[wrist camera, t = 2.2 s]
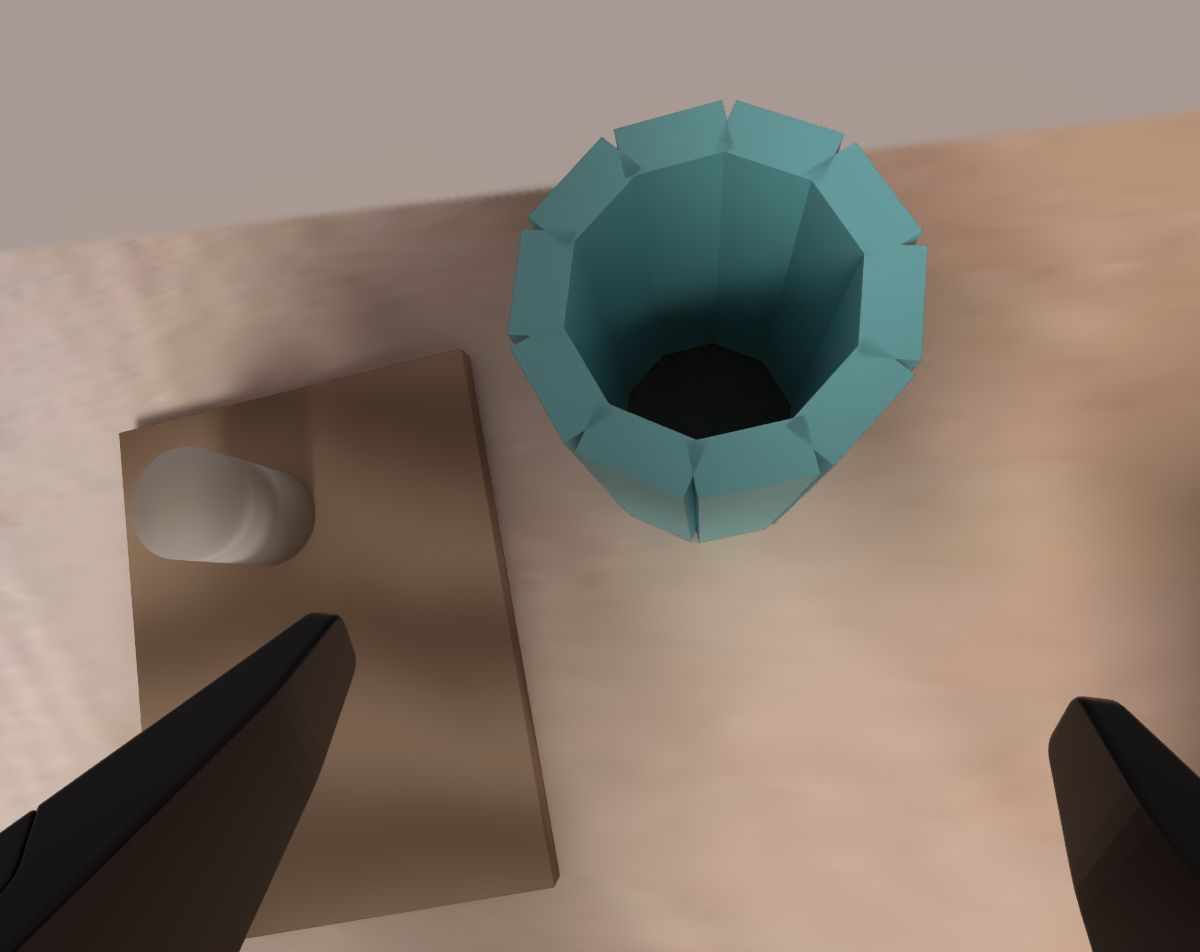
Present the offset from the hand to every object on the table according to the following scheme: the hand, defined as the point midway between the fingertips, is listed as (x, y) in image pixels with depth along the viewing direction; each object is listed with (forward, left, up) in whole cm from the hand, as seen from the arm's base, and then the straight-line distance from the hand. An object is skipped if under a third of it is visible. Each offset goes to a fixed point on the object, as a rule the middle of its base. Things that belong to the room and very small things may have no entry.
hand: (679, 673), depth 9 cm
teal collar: (+6, -2, -12) cm, 14 cm away
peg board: (+2, +11, -12) cm, 17 cm away
